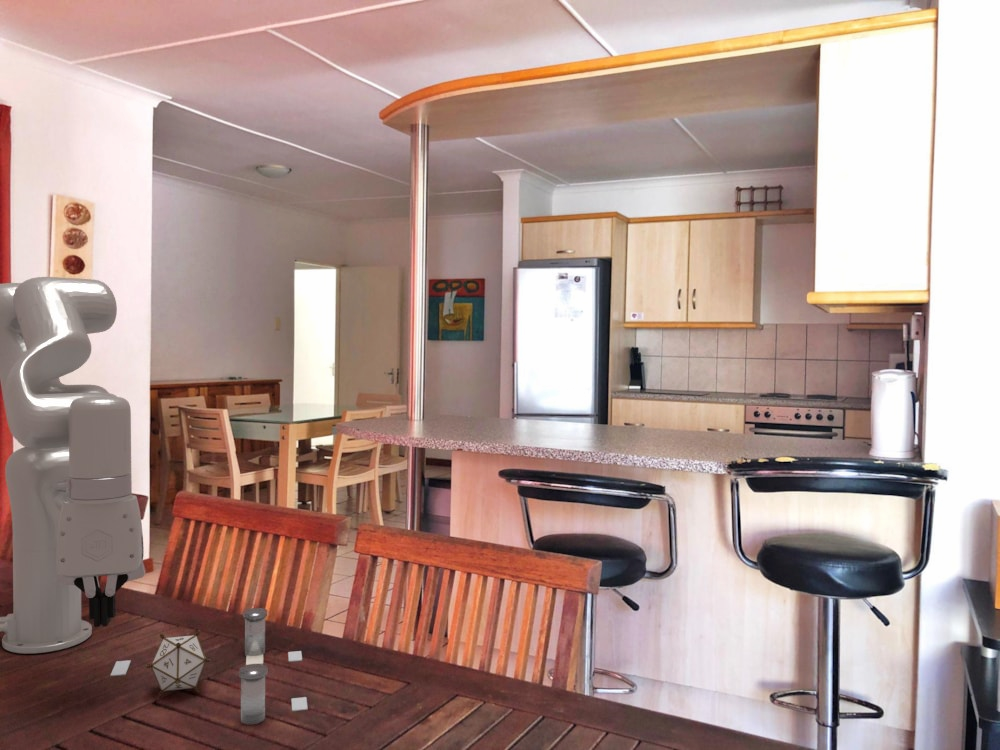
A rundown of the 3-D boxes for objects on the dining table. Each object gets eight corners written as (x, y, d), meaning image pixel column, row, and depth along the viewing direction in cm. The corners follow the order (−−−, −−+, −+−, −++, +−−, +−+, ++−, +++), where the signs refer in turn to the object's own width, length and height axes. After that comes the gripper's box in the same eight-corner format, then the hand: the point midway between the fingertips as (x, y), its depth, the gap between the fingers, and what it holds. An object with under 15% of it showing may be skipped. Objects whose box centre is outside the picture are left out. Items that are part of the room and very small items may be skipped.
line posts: (237, 727, 103) (238, 676, 103) (243, 649, 128) (243, 608, 127) (267, 723, 104) (267, 673, 104) (266, 647, 129) (267, 607, 128)
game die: (184, 721, 112) (182, 683, 106) (133, 693, 113) (128, 654, 107) (225, 669, 119) (225, 631, 112) (176, 643, 120) (174, 604, 114)
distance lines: (85, 732, 101) (85, 731, 101) (116, 662, 122) (116, 661, 122) (307, 709, 108) (307, 708, 108) (300, 647, 129) (300, 646, 129)
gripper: (30, 496, 103) (32, 638, 103) (157, 490, 107) (158, 627, 108) (46, 486, 110) (48, 619, 111) (164, 481, 114) (165, 610, 115)
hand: (102, 623), depth 109 cm, fingers closed
